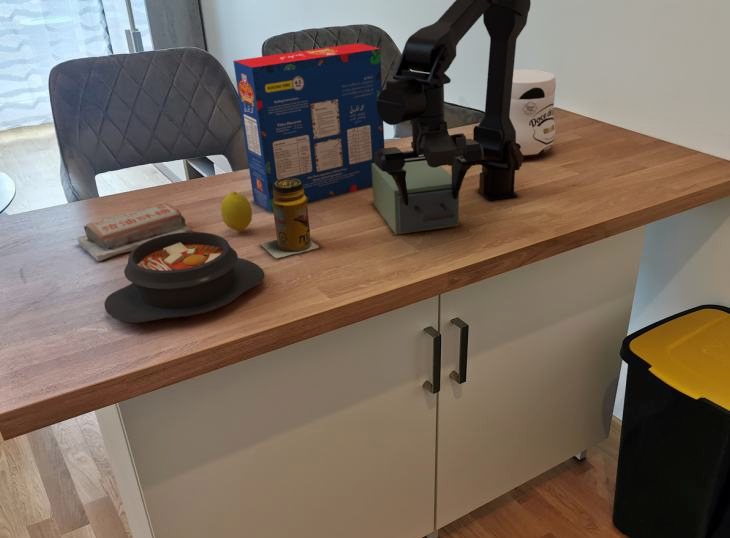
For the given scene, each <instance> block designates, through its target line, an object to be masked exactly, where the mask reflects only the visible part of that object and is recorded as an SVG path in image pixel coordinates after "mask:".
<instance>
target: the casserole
mask: <svg viewBox="0 0 730 538" xmlns="http://www.w3.org/2000/svg"><path fill="white" fill-rule="evenodd" d="M123 272H124V273H123V274H124V277H125V278H126V280H128V281H129V282H130V284H128V285H125V286H124V287H122V288H120V289H118V290H116V291H113V292H112V293H110V294H109V295H107V296H106V298H105V300H104V304H103V305H104V310H105V311H106V313H107V314H108V315H109V316H110V317H112V318H113V319H115V320H118V321H120V322H124V323H129V324H142V323H147V322H153V321H158V320H163V319H172V318H184V317H192V316H196V315H201V314H205V313H209V312H211V311H214V310H217V309H219V308H222V307H224V306H226V305H227V304H229V303H231V302H233V301H235V299H237V298H238V297H240V296H241V295H242V294H243V293H245V292H246V291H248V290H250V289H252V288H254V287H256V286H257V285H258V284H260V283H262V281H264V279H265V272H264V269H263V268H262V267H260V266H259V265H258V264H257V263H255V262H253V261H250V260H248V259H245V258H242V257H239V256H238V253H237V251H236V250H235V249H234V248H232V247H231V245H230V243H229V241H228V240H226V238H224V237H222V236H221V235H217V234H215V233H210V232H204V231H203V232H201V231H192V232H184V233H175V234H169V235H165V236H161V237H157V238H154V239H151V240H149V241H147V242H144V243H143V244H141V245H139V246H137V247H136V248H135V249H134V250H133V251H130V253H129V255H128V258H127V264H126V265H125V266H124V271H123Z"/></svg>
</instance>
